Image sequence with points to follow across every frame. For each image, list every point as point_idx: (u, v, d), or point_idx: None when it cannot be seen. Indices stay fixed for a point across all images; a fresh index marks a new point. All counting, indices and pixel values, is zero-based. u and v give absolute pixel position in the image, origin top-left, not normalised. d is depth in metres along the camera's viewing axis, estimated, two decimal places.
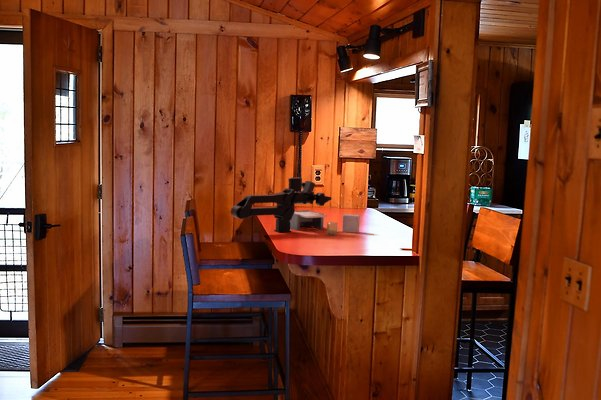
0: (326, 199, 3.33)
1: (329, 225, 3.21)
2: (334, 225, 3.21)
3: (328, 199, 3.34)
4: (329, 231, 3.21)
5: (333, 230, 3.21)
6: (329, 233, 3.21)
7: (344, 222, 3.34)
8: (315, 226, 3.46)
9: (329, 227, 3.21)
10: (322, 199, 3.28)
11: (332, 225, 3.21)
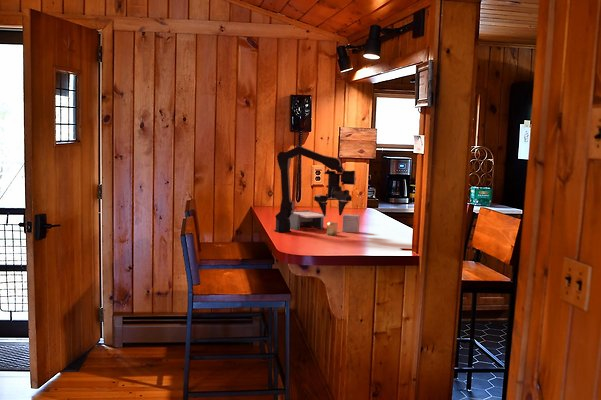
0: (322, 208, 3.20)
1: (329, 225, 3.21)
2: (334, 225, 3.21)
3: (322, 211, 3.20)
4: (329, 231, 3.21)
5: (333, 230, 3.21)
6: (329, 233, 3.21)
7: (344, 222, 3.34)
8: (315, 226, 3.46)
9: (329, 227, 3.21)
10: (317, 198, 3.17)
11: (332, 225, 3.21)
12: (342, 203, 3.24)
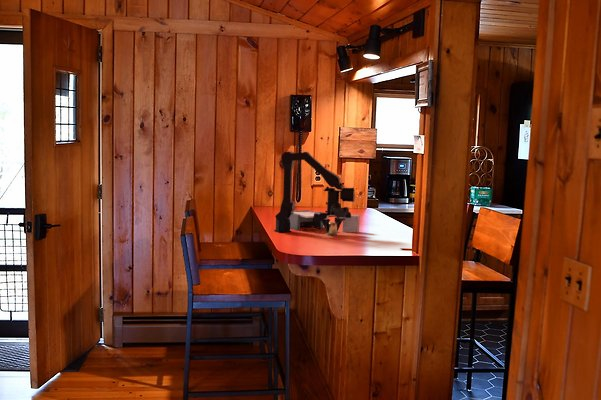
0: (325, 225, 3.21)
1: (329, 225, 3.21)
2: (334, 225, 3.21)
3: (325, 228, 3.22)
4: (329, 231, 3.21)
5: (333, 230, 3.21)
6: (329, 233, 3.21)
7: (344, 222, 3.34)
8: (315, 226, 3.46)
9: (329, 227, 3.21)
10: (316, 215, 3.18)
11: (332, 225, 3.21)
12: (338, 220, 3.24)
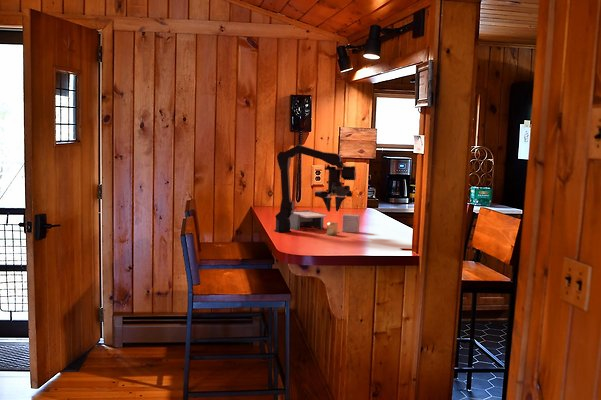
0: (326, 203, 3.20)
1: (329, 225, 3.21)
2: (334, 225, 3.21)
3: (327, 206, 3.21)
4: (329, 231, 3.21)
5: (333, 230, 3.21)
6: (329, 233, 3.21)
7: (344, 222, 3.34)
8: (315, 226, 3.46)
9: (329, 227, 3.21)
10: (317, 194, 3.17)
11: (332, 225, 3.21)
12: (339, 199, 3.23)
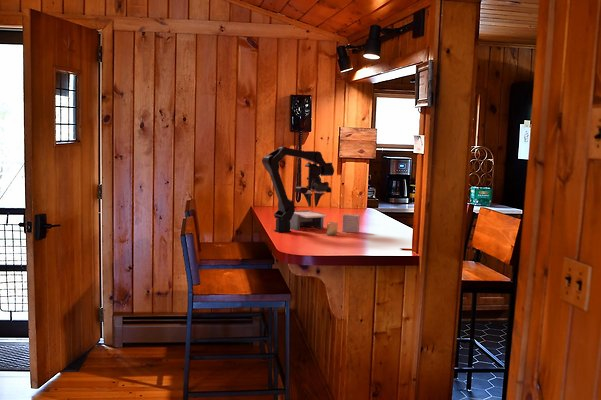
0: (307, 199, 3.34)
1: (329, 225, 3.21)
2: (334, 225, 3.21)
3: (308, 202, 3.35)
4: (329, 231, 3.21)
5: (333, 230, 3.21)
6: (329, 233, 3.21)
7: (344, 222, 3.34)
8: (315, 226, 3.46)
9: (329, 227, 3.21)
10: (297, 190, 3.30)
11: (332, 225, 3.21)
12: (318, 195, 3.36)
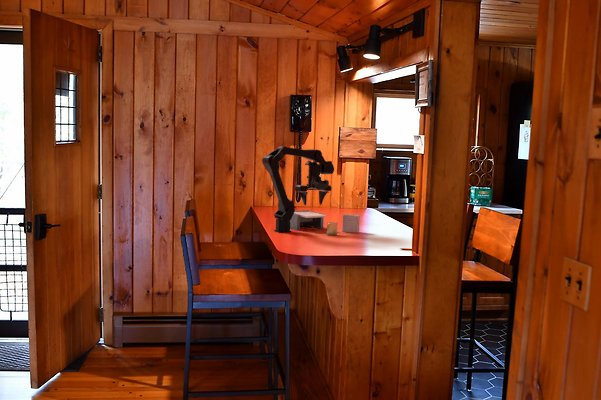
0: (303, 197, 3.33)
1: (329, 225, 3.21)
2: (334, 225, 3.21)
3: (303, 200, 3.33)
4: (329, 231, 3.21)
5: (333, 230, 3.21)
6: (329, 233, 3.21)
7: (344, 222, 3.34)
8: (315, 226, 3.46)
9: (329, 227, 3.21)
10: (297, 188, 3.30)
11: (332, 225, 3.21)
12: (322, 193, 3.37)
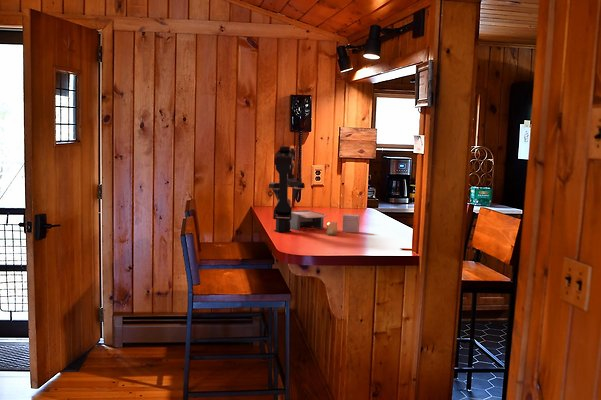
0: (276, 194, 3.41)
1: (329, 225, 3.21)
2: (334, 225, 3.21)
3: (277, 197, 3.42)
4: (329, 231, 3.21)
5: (333, 230, 3.21)
6: (329, 233, 3.21)
7: (344, 222, 3.34)
8: (315, 226, 3.46)
9: (329, 227, 3.21)
10: (271, 185, 3.38)
11: (332, 225, 3.21)
12: (296, 190, 3.46)
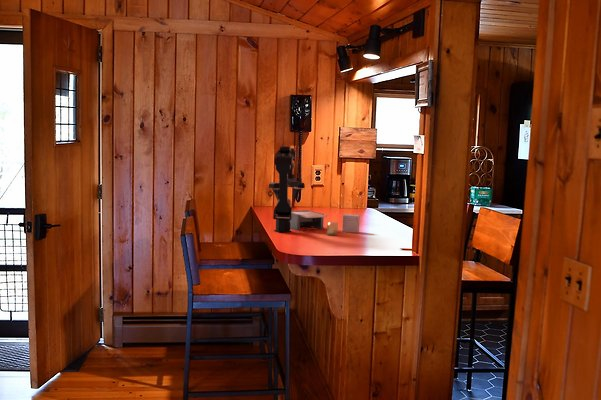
0: (276, 194, 3.41)
1: (330, 225, 3.21)
2: (335, 225, 3.21)
3: (277, 197, 3.42)
4: (330, 231, 3.21)
5: (334, 230, 3.21)
6: (330, 233, 3.21)
7: (344, 222, 3.34)
8: (315, 226, 3.46)
9: (330, 227, 3.21)
10: (271, 185, 3.38)
11: (333, 225, 3.21)
12: (296, 190, 3.46)
